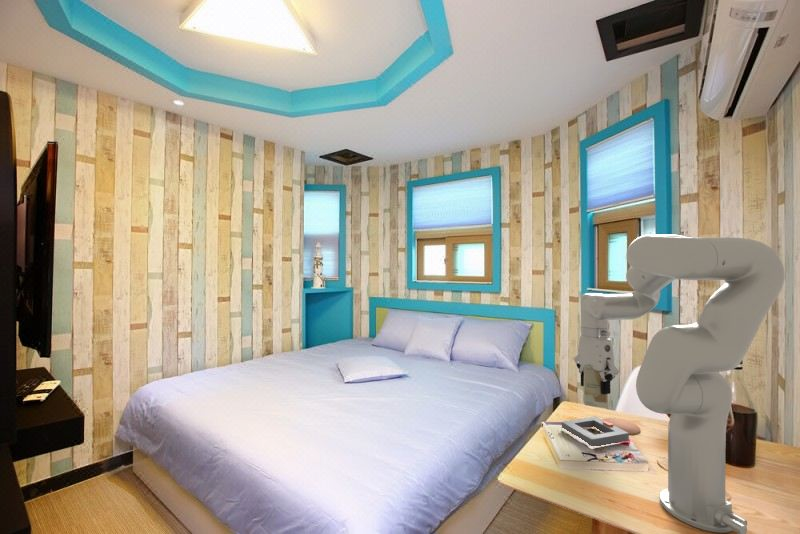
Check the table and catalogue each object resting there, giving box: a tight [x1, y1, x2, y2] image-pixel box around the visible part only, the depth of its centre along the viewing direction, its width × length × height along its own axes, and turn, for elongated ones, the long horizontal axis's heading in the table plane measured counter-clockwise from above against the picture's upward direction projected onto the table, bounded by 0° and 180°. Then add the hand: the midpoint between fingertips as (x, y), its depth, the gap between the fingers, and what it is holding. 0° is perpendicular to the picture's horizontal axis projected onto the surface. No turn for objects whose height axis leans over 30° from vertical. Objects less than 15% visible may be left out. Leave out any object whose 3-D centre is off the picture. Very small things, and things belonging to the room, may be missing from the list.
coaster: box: [602, 417, 641, 436], centre depth 116 cm, size 11×11×1 cm
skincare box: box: [582, 365, 608, 409], centre depth 108 cm, size 6×4×12 cm
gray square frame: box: [561, 416, 630, 446], centre depth 109 cm, size 12×14×4 cm
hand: (595, 389), depth 108 cm, fingers closed on skincare box, 7 cm apart
